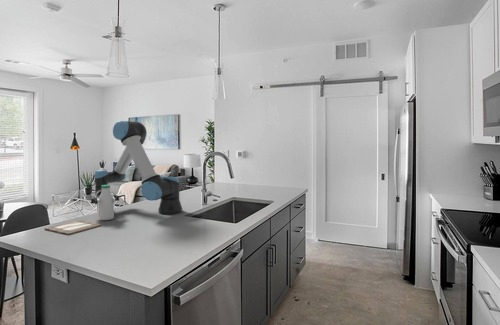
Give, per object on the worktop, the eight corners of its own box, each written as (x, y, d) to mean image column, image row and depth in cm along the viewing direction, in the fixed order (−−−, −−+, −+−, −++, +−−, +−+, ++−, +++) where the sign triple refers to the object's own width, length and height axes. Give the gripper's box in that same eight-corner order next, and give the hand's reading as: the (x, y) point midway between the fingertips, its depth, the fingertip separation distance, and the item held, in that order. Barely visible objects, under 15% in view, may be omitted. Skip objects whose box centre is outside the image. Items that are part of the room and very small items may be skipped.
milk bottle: (116, 218, 174) (115, 184, 172) (105, 221, 167) (104, 186, 165) (107, 216, 177) (106, 183, 176) (96, 219, 170) (95, 185, 169)
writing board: (101, 225, 159) (101, 224, 159) (68, 235, 143) (68, 233, 143) (78, 221, 168) (78, 219, 168) (44, 229, 152) (44, 228, 152)
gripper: (120, 199, 192) (126, 206, 172) (85, 203, 181) (86, 210, 162) (120, 188, 192) (125, 193, 172) (84, 191, 181) (86, 197, 161)
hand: (106, 201), depth 167 cm, fingers closed on milk bottle, 7 cm apart
